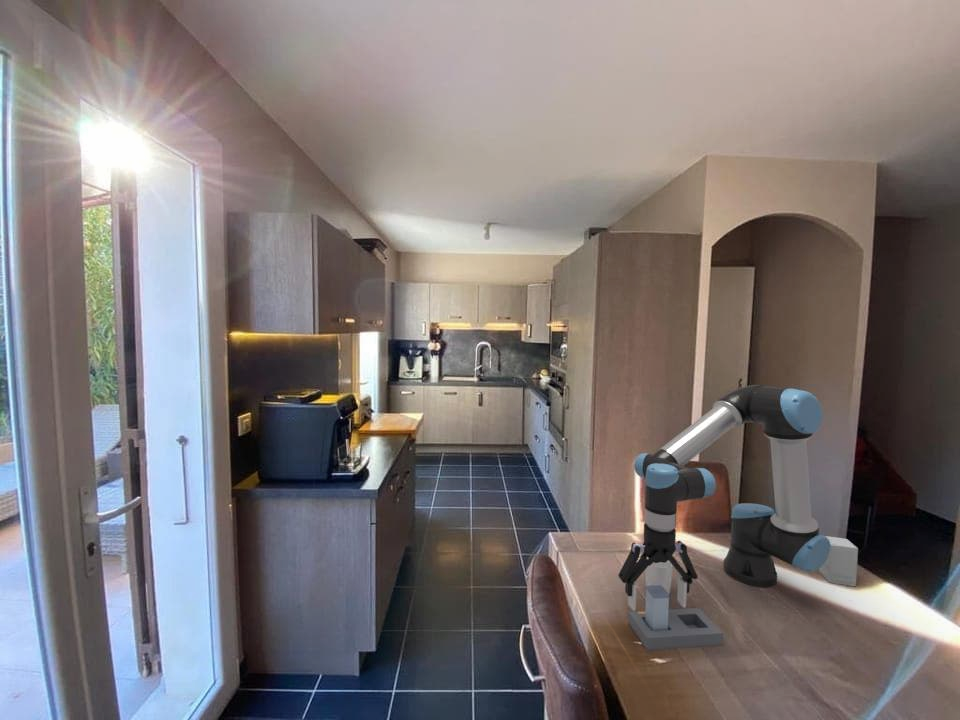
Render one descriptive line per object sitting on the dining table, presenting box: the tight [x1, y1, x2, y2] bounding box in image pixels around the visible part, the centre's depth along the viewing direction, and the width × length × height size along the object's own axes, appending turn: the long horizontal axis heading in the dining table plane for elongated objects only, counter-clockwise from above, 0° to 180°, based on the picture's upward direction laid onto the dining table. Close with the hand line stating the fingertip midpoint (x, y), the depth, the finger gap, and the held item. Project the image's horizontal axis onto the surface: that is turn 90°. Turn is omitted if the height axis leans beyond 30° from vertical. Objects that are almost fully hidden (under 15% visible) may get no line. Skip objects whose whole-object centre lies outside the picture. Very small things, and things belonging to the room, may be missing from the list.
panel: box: [628, 607, 724, 651], centre depth 111 cm, size 20×10×4 cm, turn 96°
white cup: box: [644, 556, 674, 594], centre depth 130 cm, size 8×8×10 cm
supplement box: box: [818, 535, 859, 587], centre depth 139 cm, size 7×7×13 cm
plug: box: [644, 585, 670, 631], centre depth 110 cm, size 4×4×12 cm
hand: (656, 605), depth 110 cm, fingers open, 13 cm apart
